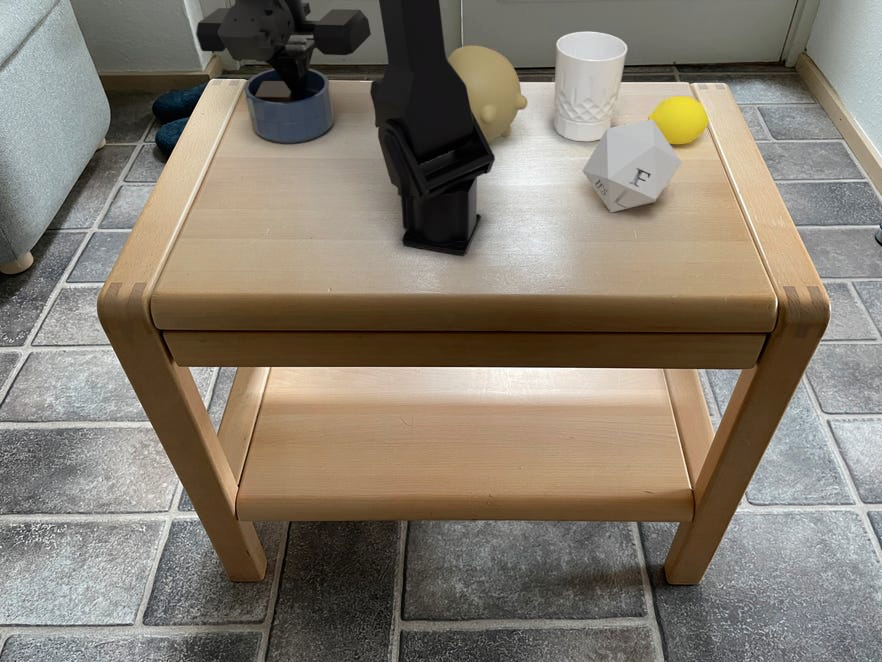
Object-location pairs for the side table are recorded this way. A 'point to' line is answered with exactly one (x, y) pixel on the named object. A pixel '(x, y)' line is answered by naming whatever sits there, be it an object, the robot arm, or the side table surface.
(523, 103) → the toy pig
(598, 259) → the side table surface
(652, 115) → the lemon
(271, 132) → the bowl
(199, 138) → the side table surface
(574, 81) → the white cup
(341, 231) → the side table surface
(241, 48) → the robot arm
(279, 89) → the block
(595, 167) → the die
